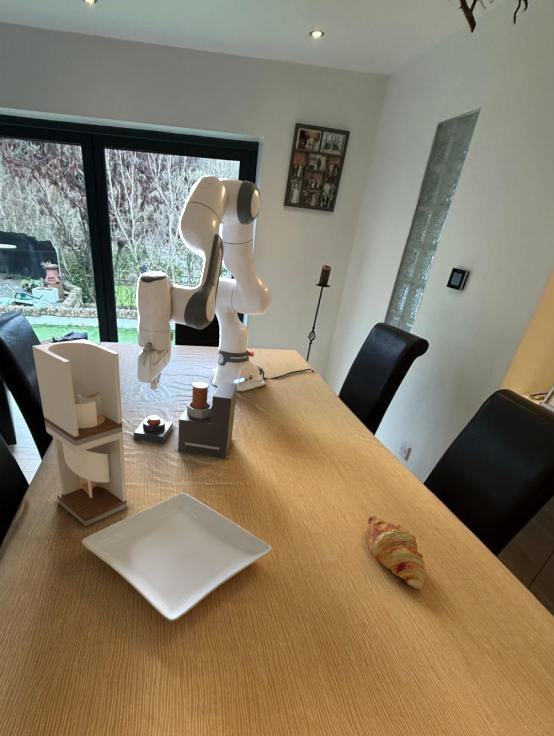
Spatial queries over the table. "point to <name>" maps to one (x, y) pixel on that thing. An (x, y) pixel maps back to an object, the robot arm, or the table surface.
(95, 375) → the spiral staircase model
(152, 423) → the brew button
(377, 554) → the croissant
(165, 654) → the table surface
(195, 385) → the coffee pod
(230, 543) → the square plate
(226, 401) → the coffee maker
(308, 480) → the table surface
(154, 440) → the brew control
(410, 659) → the table surface
